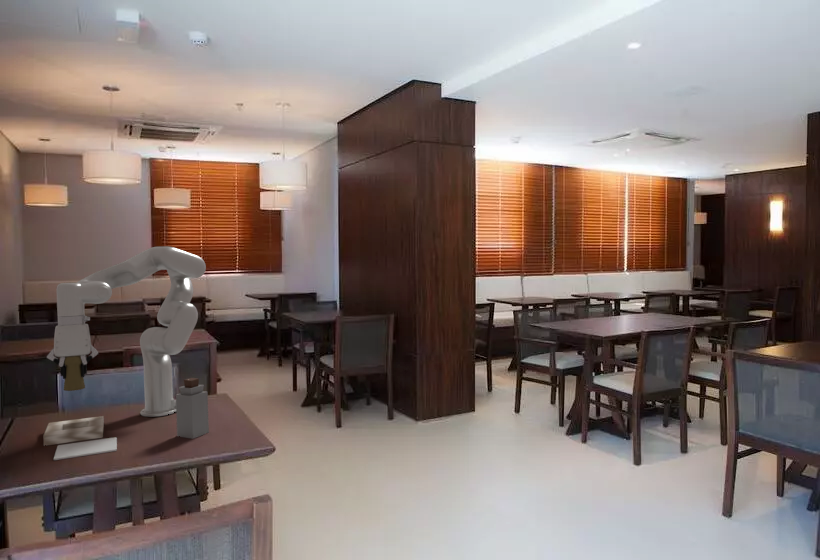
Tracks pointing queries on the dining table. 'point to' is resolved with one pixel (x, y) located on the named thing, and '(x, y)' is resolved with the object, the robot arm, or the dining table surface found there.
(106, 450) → the grey mat
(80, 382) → the cork
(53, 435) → the shaker holder
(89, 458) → the dining table surface
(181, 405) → the perfume bottle
